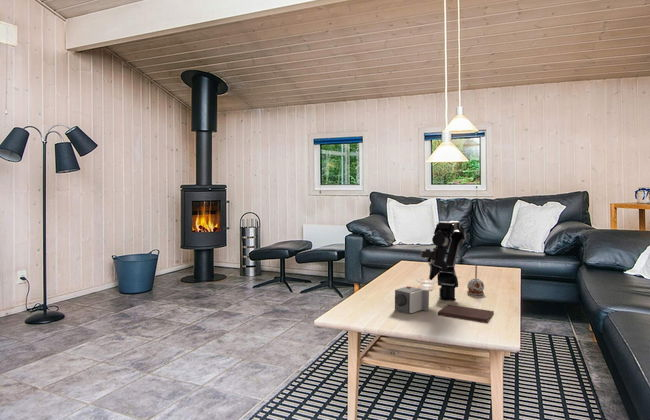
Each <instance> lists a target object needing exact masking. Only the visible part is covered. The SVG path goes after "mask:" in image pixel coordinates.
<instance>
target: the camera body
mask: <svg viewBox="0 0 650 420" xmlns="http://www.w3.org/2000/svg"><path fill="white" fill-rule="evenodd" d="M418 290H422V288H420V287H415V286H414V287H413V286H412V285H411V286H410V285H407V286H404V287H400V288H397V289H394V311H396V312H400V313H404V314H408V315H409V314H410V313H409V306H410V293H412V292H415V291H418Z"/></svg>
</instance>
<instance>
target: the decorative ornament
mask: <svg viewBox="0 0 650 420" xmlns="http://www.w3.org/2000/svg"><path fill="white" fill-rule="evenodd" d="M474 270H475V271H474V278H471V279H469V280H468V283H467V293H468V294H469V295H473V296H481V295H484V294H485V291H484V290H485V284H484V282H483V281H482V280H481V279H480V278H478V264H475V269H474Z"/></svg>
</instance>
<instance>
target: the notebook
mask: <svg viewBox="0 0 650 420" xmlns="http://www.w3.org/2000/svg"><path fill="white" fill-rule="evenodd" d="M493 313H495V312H494V311H493V310H490V309H489V310H487V309H480V308H476V307H468V306H460V305H455V304H449V303H448V304H445V306H443V308H441V309H440V310H438V312H437V315H438V316H443V317H448V318H449V317H450V318H455V319H461V320H465V321H466V320H468V321H473V322H479V323H485V322H486V323H488V322H489V320H490V319H491V318H492V316H493V315H494V314H493ZM492 314H493V315H492ZM490 317H491V318H490ZM489 318H490V319H489Z"/></svg>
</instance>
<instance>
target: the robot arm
mask: <svg viewBox="0 0 650 420" xmlns="http://www.w3.org/2000/svg"><path fill="white" fill-rule="evenodd" d="M466 238H467V231H466V228H465V227H464V226H462V224H461V221H458V220H450V221H438V223H436V226H435V229H434V232H433V237H432V239H431V241H432V242H431V243H432V244H433V245H435V247H434V248H432V250H431V249H429V248H426V249H423V250H422V249H421V250H420V258H421V259H425V258H426V259H425V261H427V262H428V266H429V276H428V279H429V280H430V281H432V280H434V278H435V277H436V276H437V278H436V279H437V285H438V286H440V287H439V291H438V292H439V294H438V296H439V298H440V299H441V300H442V301H456V300H457V299H456V288H459V280H458V276H457V274H456V270H455V267H456V262H457V258H458V255H459V250H460V248H461V247H462V246H463V245H464V243H465V240H467V239H466Z"/></svg>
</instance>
